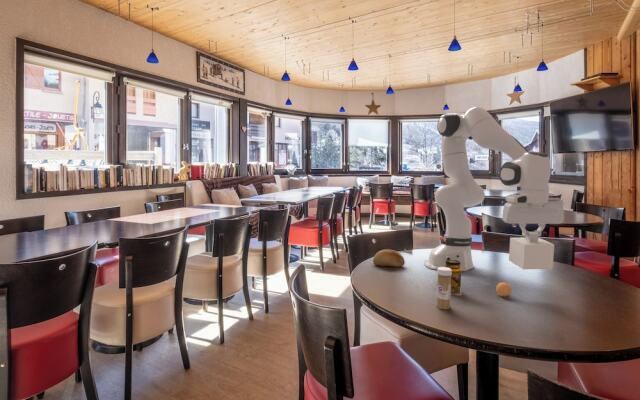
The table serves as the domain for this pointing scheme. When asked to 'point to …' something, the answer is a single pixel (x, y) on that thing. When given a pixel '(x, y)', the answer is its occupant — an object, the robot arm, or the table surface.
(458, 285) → the condiment
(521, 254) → the white box
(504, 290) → the ball
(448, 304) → the sprinkles bottle
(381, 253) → the bread roll
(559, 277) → the table surface
